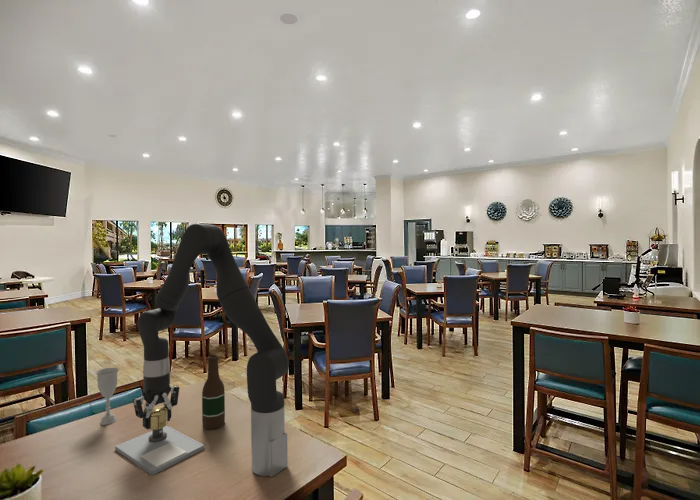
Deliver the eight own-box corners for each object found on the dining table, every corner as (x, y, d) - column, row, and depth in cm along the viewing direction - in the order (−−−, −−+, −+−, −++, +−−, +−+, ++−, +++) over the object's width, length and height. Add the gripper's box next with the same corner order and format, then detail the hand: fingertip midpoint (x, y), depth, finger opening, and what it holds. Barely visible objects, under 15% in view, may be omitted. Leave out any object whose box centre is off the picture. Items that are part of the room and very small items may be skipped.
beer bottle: (229, 419, 135) (228, 353, 134) (219, 430, 127) (218, 359, 127) (208, 419, 136) (207, 352, 135) (197, 429, 128) (196, 359, 127)
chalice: (123, 420, 135) (122, 370, 135) (102, 428, 129) (101, 375, 129) (113, 415, 139) (112, 366, 138) (92, 422, 133) (91, 371, 133)
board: (204, 448, 116) (204, 419, 116) (152, 475, 103) (151, 442, 103) (166, 428, 129) (165, 401, 128) (115, 449, 116) (114, 420, 115)
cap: (172, 424, 121) (172, 409, 120) (153, 432, 116) (153, 416, 116) (160, 419, 125) (160, 404, 124) (142, 425, 120) (142, 410, 120)
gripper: (139, 381, 112) (140, 437, 112) (184, 367, 124) (185, 418, 124) (127, 376, 116) (128, 430, 117) (172, 363, 128) (172, 413, 128)
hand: (157, 424), depth 120 cm, fingers closed on cap, 5 cm apart
